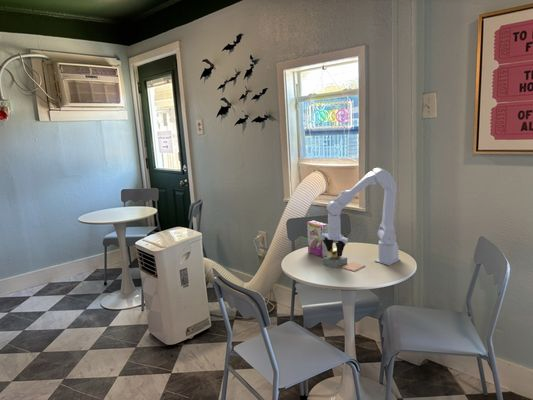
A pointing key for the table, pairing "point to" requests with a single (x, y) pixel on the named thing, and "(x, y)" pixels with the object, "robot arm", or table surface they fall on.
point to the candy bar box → (316, 238)
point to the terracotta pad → (353, 266)
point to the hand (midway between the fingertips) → (334, 254)
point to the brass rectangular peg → (333, 253)
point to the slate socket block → (335, 261)
